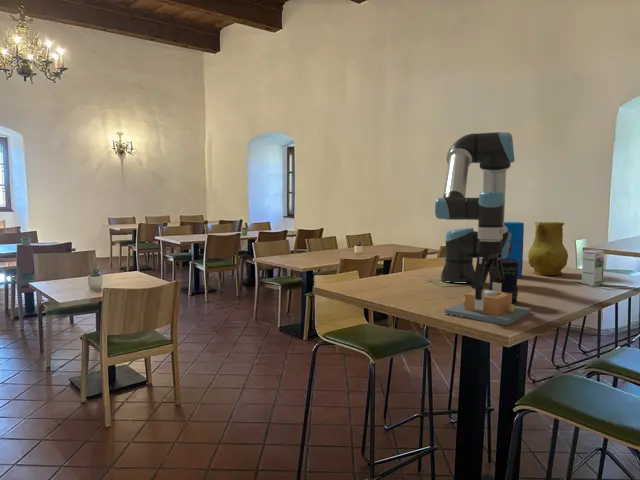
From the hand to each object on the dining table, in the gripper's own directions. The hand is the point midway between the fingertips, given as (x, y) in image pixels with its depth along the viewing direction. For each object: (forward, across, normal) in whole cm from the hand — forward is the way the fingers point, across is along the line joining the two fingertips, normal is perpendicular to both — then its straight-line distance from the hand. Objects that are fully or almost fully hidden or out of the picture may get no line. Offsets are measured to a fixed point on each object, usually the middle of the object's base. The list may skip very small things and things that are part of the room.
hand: (488, 305), depth 153 cm
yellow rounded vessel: (+3, +92, +9) cm, 92 cm away
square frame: (+1, 0, 0) cm, 1 cm away
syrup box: (+3, +77, -13) cm, 78 cm away
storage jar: (+3, +20, +3) cm, 20 cm away
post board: (+2, 0, 0) cm, 2 cm away
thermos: (+3, +75, +21) cm, 78 cm away
